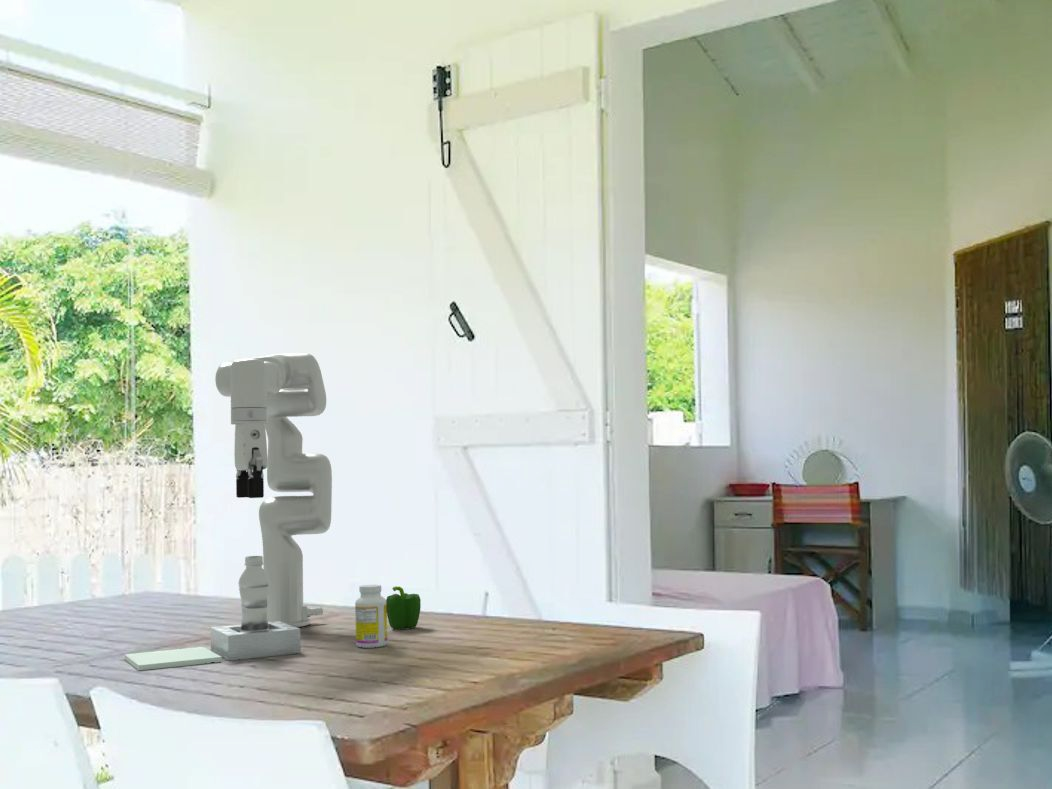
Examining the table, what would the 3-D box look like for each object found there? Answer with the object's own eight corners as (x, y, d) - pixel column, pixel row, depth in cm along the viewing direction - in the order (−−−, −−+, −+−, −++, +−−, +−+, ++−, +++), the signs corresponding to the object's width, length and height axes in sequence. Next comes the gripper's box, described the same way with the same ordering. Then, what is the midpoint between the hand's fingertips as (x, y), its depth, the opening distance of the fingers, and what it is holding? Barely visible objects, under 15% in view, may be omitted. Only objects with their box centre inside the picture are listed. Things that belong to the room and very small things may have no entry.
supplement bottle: (374, 642, 250) (373, 583, 251) (393, 645, 245) (392, 585, 246) (349, 646, 245) (348, 586, 246) (368, 649, 241) (367, 588, 241)
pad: (203, 651, 244) (203, 646, 244) (221, 661, 230) (221, 656, 230) (124, 659, 236) (124, 654, 236) (138, 670, 222) (138, 665, 222)
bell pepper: (416, 624, 277) (415, 583, 277) (424, 629, 269) (423, 586, 269) (382, 627, 274) (381, 585, 274) (389, 631, 266) (388, 588, 267)
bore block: (279, 644, 251) (279, 621, 252) (300, 653, 238) (300, 628, 239) (210, 651, 244) (210, 627, 244) (228, 660, 231) (228, 635, 231)
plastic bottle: (277, 649, 243) (275, 555, 245) (259, 655, 237) (258, 557, 238) (250, 649, 245) (249, 555, 247) (232, 654, 239) (231, 557, 240)
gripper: (277, 415, 239) (278, 497, 238) (255, 419, 254) (256, 496, 253) (241, 415, 235) (242, 498, 234) (221, 419, 250) (222, 497, 249)
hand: (249, 497), depth 243 cm, fingers open, 9 cm apart
